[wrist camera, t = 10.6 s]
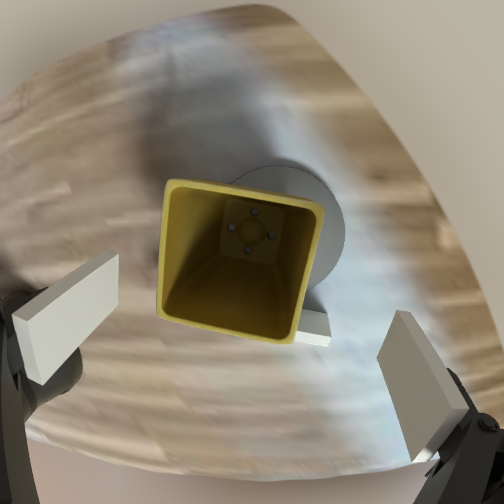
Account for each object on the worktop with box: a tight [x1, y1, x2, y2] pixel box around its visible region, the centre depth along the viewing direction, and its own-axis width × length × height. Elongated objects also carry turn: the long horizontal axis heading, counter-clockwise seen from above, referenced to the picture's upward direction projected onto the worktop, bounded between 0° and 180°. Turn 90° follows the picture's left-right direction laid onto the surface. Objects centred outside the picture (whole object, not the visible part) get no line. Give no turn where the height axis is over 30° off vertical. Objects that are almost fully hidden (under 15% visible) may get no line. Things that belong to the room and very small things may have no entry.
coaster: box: [229, 166, 345, 291], centre depth 26 cm, size 11×11×1 cm
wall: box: [294, 309, 331, 347], centre depth 27 cm, size 14×1×4 cm, turn 80°
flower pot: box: [156, 178, 325, 345], centre depth 22 cm, size 9×9×9 cm
